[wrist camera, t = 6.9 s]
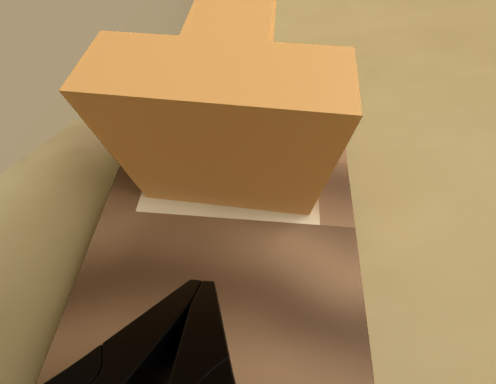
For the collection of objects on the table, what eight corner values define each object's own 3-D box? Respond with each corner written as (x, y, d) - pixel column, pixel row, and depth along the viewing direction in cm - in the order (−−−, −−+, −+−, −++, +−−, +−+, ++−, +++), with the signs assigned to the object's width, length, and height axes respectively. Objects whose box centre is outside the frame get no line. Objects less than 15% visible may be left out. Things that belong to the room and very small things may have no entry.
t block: (309, 215, 15) (362, 115, 8) (146, 197, 15) (58, 90, 8) (310, 97, 19) (344, -33, 12) (185, 87, 20) (150, -42, 13)
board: (366, 423, 12) (380, 435, 10) (54, 388, 12) (30, 396, 11) (332, 100, 21) (337, 85, 20) (160, 92, 22) (154, 77, 21)
